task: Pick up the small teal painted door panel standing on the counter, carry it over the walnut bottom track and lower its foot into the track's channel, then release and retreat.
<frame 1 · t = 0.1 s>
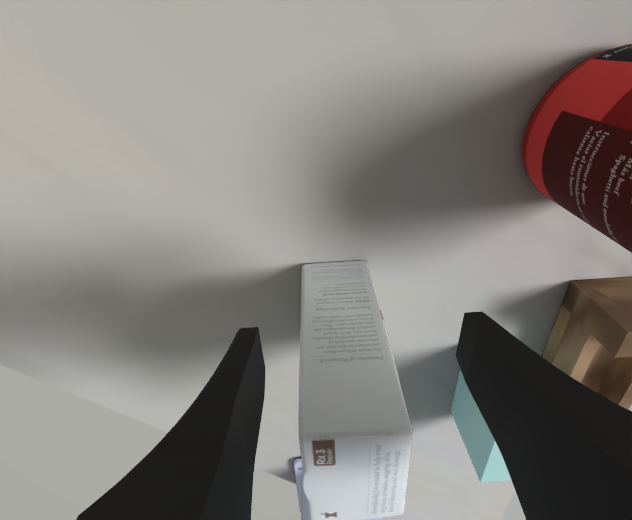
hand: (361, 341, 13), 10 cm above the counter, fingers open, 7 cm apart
door panel: (472, 376, 30), on the counter
skincare box: (332, 294, 25), on the counter
track: (572, 370, 30), on the counter
canned food: (590, 126, 20), on the counter
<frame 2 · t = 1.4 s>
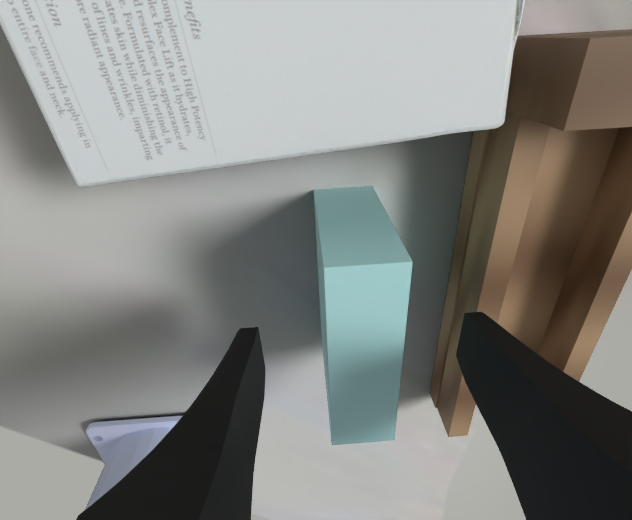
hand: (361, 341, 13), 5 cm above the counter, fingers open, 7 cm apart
door panel: (343, 269, 17), on the counter
skincare box: (45, 62, 10), point 2 cm above the counter
track: (515, 259, 17), on the counter
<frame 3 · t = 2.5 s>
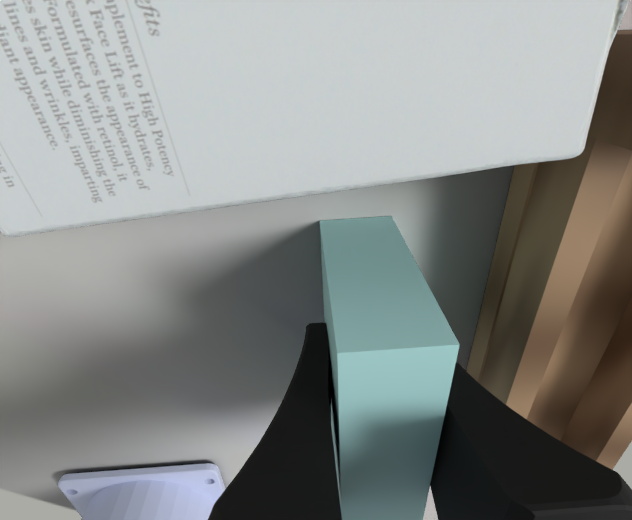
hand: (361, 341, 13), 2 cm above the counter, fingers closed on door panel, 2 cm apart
door panel: (354, 311, 14), on the counter, touching gripper
track: (557, 298, 15), on the counter
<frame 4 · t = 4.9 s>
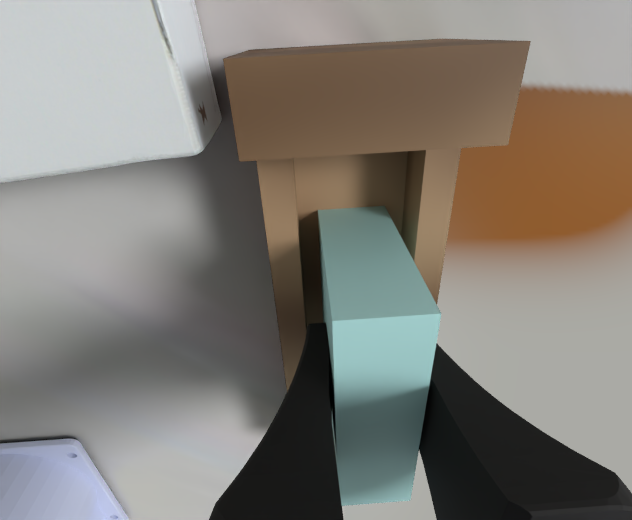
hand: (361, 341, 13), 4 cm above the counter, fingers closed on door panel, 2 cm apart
door panel: (351, 297, 15), point 1 cm above the counter, touching gripper, track
track: (347, 282, 16), on the counter
when the fingers open (4 cm above the counter, at t = 5.0 s): door panel stays where it is, resting on track.
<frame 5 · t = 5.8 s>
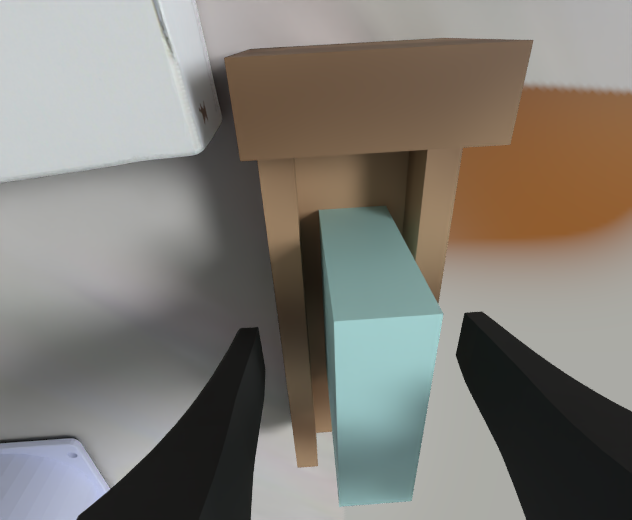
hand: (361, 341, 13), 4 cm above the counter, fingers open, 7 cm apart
door panel: (351, 297, 15), point 1 cm above the counter, touching track
track: (348, 282, 16), on the counter
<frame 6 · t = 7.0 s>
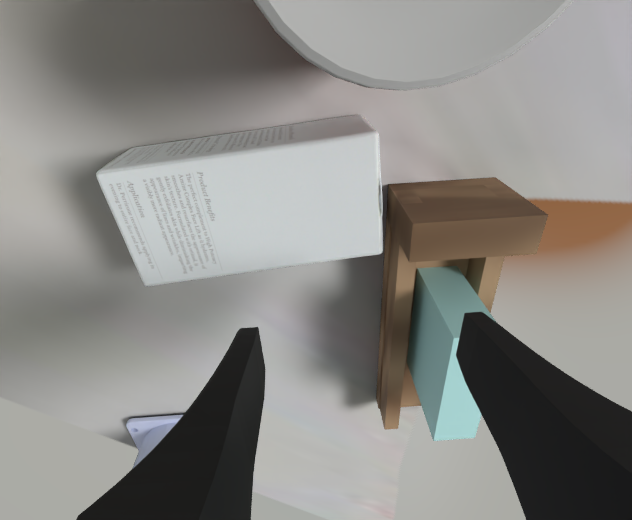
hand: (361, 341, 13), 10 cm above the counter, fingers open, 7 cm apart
door panel: (429, 318, 24), point 1 cm above the counter, touching track
skincare box: (126, 216, 18), point 2 cm above the counter
track: (424, 308, 25), on the counter
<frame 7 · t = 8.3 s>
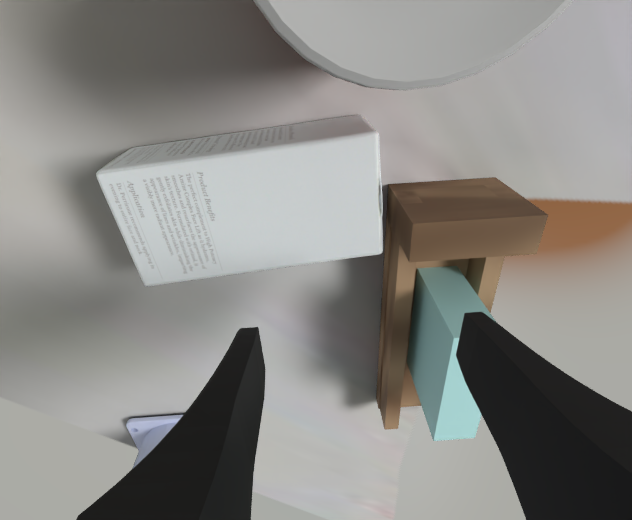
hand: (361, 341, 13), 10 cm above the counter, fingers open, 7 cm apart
door panel: (429, 318, 24), point 1 cm above the counter, touching track
skincare box: (126, 216, 18), point 2 cm above the counter
track: (424, 308, 25), on the counter
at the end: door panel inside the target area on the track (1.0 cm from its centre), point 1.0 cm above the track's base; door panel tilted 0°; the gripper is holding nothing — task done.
